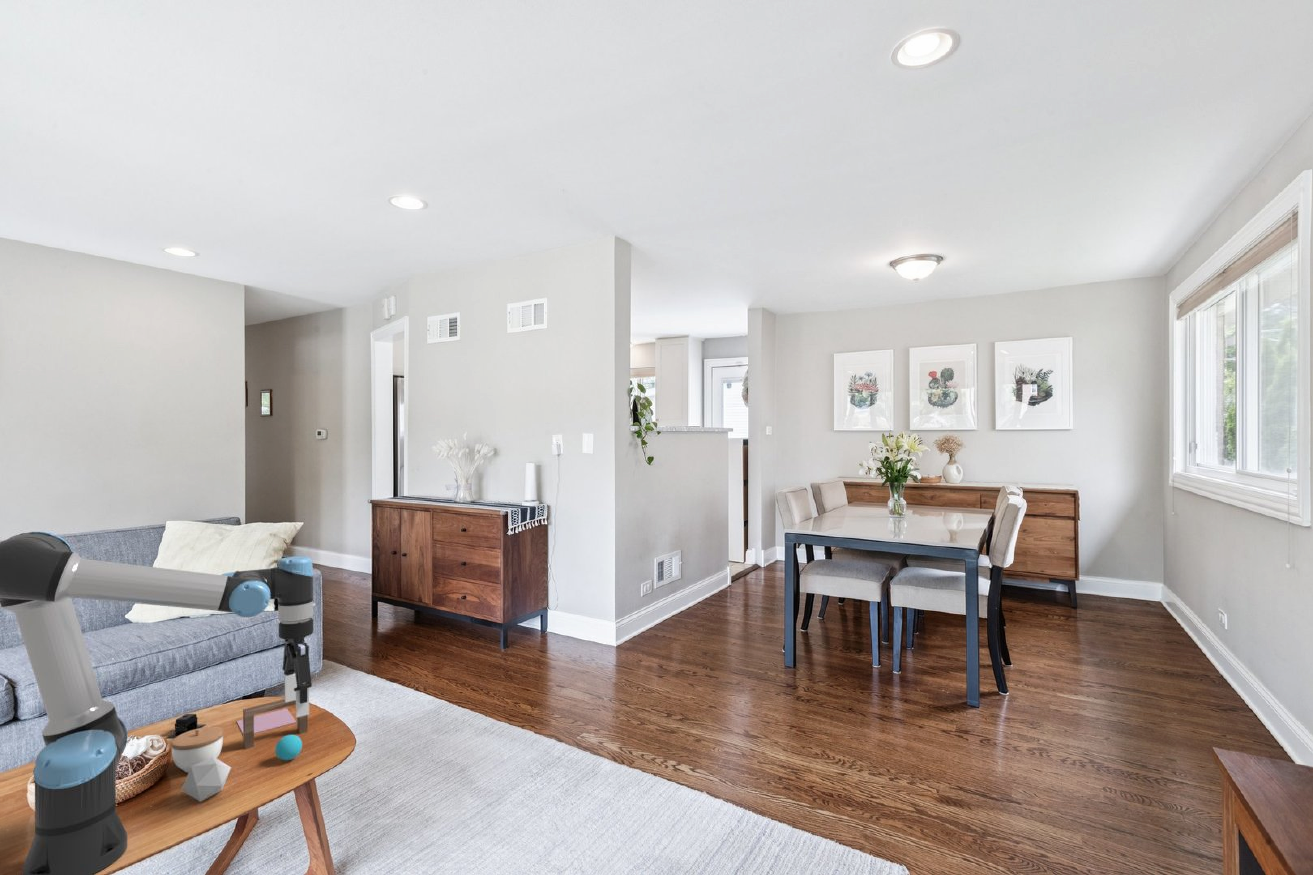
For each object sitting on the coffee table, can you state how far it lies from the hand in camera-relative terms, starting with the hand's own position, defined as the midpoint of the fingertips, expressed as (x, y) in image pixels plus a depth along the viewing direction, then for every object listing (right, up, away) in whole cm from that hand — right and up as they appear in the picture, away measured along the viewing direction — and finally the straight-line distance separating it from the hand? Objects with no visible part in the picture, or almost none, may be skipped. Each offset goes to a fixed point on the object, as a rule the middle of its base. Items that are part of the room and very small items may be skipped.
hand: (296, 707), depth 156 cm
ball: (-6, -13, +7) cm, 16 cm away
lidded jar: (-27, -17, +4) cm, 32 cm away
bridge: (-17, -17, +19) cm, 30 cm away
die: (-15, -16, -10) cm, 24 cm away
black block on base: (-46, -18, +24) cm, 55 cm away
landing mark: (-26, -17, +29) cm, 43 cm away
